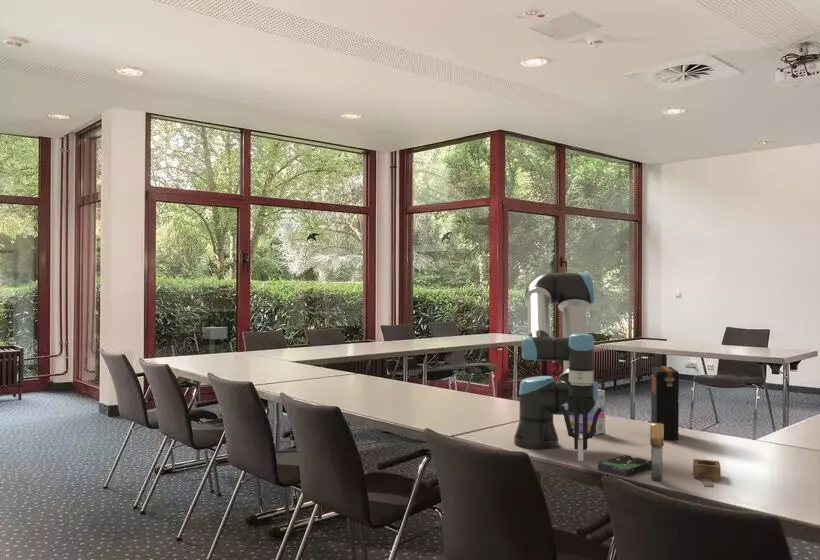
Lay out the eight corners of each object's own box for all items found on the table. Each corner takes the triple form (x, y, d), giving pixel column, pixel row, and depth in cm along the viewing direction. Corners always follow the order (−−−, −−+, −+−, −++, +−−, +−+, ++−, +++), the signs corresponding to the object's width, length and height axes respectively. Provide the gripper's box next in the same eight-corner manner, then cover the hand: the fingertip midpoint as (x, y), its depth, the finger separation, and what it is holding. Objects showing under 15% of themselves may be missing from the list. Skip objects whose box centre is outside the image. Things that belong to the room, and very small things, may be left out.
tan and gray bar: (650, 481, 195) (650, 424, 195) (650, 477, 198) (650, 422, 198) (663, 482, 193) (663, 425, 193) (663, 479, 197) (663, 423, 197)
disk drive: (624, 463, 216) (596, 471, 206) (624, 454, 216) (597, 461, 206) (654, 470, 208) (627, 478, 198) (654, 461, 208) (627, 469, 198)
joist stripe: (703, 486, 190) (703, 485, 190) (700, 467, 209) (700, 466, 209) (713, 487, 189) (713, 486, 189) (708, 467, 209) (708, 466, 209)
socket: (693, 478, 197) (694, 464, 197) (693, 472, 204) (693, 458, 204) (720, 481, 195) (720, 467, 195) (718, 474, 201) (718, 461, 201)
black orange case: (681, 441, 243) (681, 371, 243) (655, 440, 245) (656, 370, 245) (673, 432, 258) (673, 366, 258) (649, 431, 260) (649, 365, 260)
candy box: (605, 434, 255) (605, 390, 255) (595, 436, 251) (595, 391, 251) (577, 427, 266) (577, 385, 266) (566, 429, 263) (567, 386, 263)
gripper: (557, 384, 211) (557, 460, 211) (601, 386, 206) (601, 465, 206) (561, 381, 218) (561, 455, 218) (603, 383, 213) (603, 459, 213)
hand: (580, 459), depth 212 cm, fingers closed
